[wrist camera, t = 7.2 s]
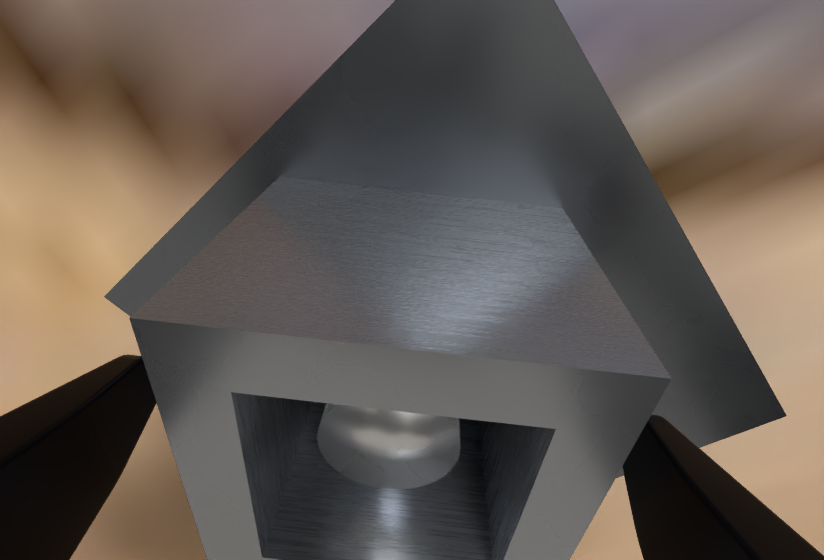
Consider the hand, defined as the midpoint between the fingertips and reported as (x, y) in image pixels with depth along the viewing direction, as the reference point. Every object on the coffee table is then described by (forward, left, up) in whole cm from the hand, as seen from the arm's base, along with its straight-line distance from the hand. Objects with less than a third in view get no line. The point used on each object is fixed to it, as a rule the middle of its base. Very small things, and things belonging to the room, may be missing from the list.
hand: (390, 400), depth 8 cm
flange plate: (-2, 0, -4) cm, 5 cm away
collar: (0, 0, -3) cm, 3 cm away
